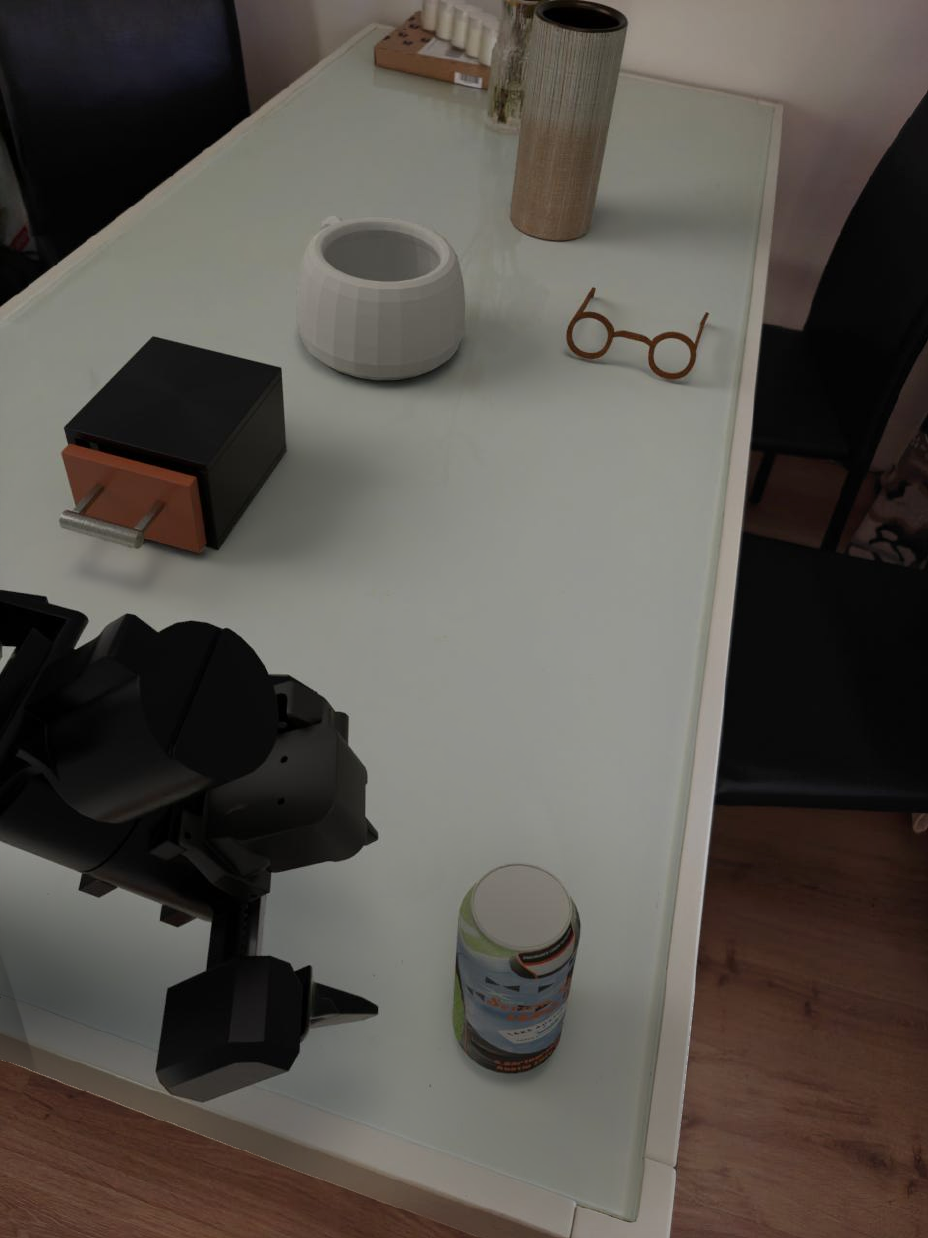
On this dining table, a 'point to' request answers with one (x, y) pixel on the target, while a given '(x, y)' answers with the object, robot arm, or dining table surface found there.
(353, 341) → the mug
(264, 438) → the small drawer box
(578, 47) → the tall ribbed vase
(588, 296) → the glasses
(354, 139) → the dining table surface
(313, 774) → the robot arm
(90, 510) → the drawer with bar handle
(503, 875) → the beverage can
